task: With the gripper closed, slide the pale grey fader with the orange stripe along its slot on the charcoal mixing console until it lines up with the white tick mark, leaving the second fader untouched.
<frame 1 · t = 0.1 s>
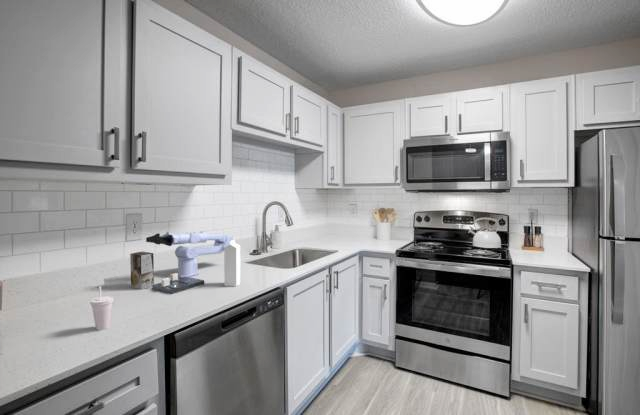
hand: (151, 240, 157), 22 cm above the counter, tool horizontal, fingers open, 7 cm apart
milk: (232, 285, 159), on the counter
coffee box: (142, 286, 154), on the counter
smoothie: (102, 328, 107), on the counter
console: (179, 286, 154), on the counter
fader a: (174, 276, 157), point 4 cm above the counter, slide at 0.0 cm
fader b: (165, 282, 148), point 4 cm above the counter, slide at 5.0 cm
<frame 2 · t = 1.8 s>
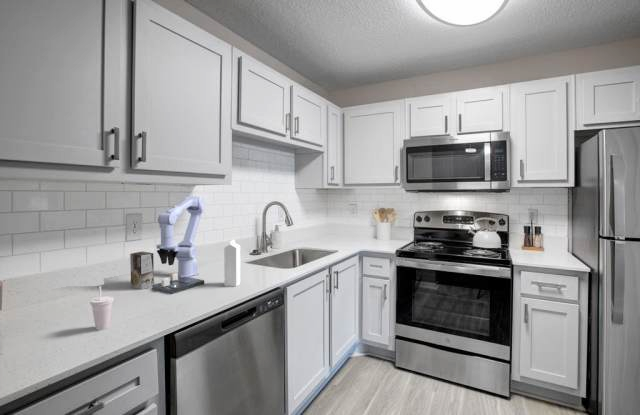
hand: (167, 264, 160), 9 cm above the counter, tool pointing down, fingers open, 5 cm apart
nothing on the counter moved.
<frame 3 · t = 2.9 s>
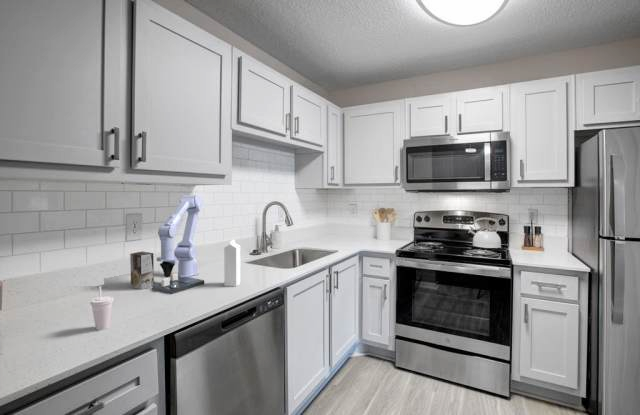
hand: (167, 276, 160), 3 cm above the counter, tool pointing down, fingers closed
nothing on the counter moved.
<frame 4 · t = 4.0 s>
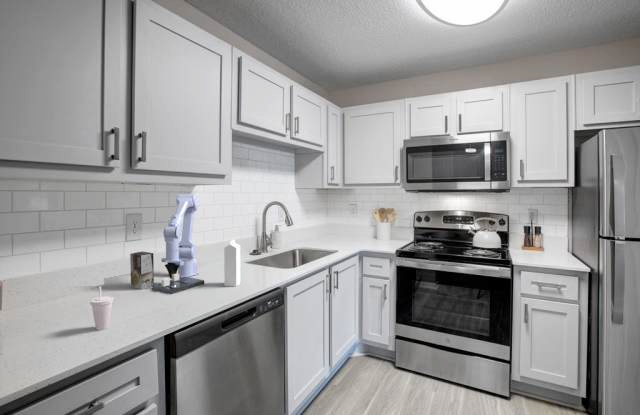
hand: (172, 278, 158), 3 cm above the counter, tool pointing down, fingers closed
fader a: (175, 277, 157), point 4 cm above the counter, slide at 1.1 cm, touching gripper
everything else where it was.
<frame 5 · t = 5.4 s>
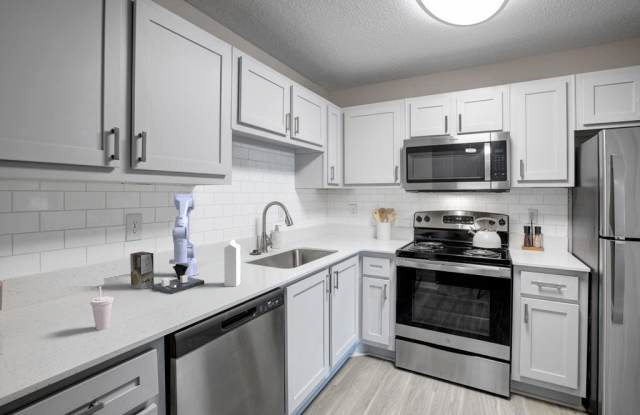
hand: (180, 280, 155), 3 cm above the counter, tool pointing down, fingers closed
fader a: (183, 278, 154), point 4 cm above the counter, slide at 7.2 cm, touching gripper
everything else where it was.
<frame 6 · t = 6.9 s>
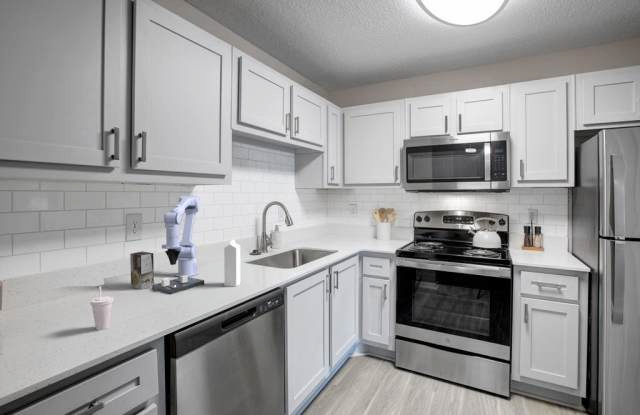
hand: (173, 264, 158), 10 cm above the counter, tool pointing down, fingers closed
fader a: (183, 278, 154), point 4 cm above the counter, slide at 7.2 cm
everything else where it was.
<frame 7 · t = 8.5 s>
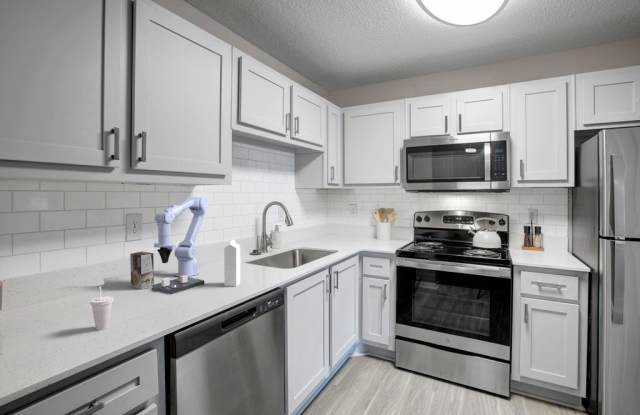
hand: (165, 262, 161), 10 cm above the counter, tool pointing down, fingers closed
nothing on the counter moved.
at the end: fader a slide at 7.2 cm; fader b slide at 5.0 cm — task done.
